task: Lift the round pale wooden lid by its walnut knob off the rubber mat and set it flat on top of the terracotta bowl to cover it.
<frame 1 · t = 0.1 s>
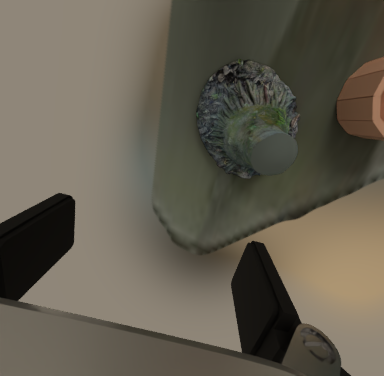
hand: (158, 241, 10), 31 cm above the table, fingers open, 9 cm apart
tree stump: (245, 122, 37), on the table
bowl: (375, 99, 35), on the table
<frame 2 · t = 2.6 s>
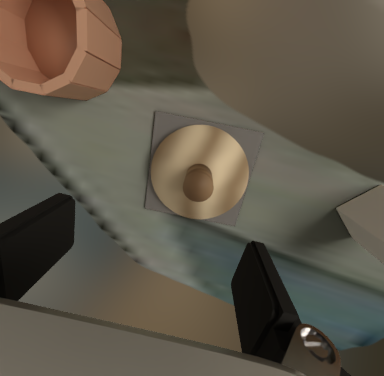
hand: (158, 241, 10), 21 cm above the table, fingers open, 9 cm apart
mat: (199, 173, 31), on the table
milk carton: (363, 211, 32), on the table
bowl: (73, 45, 26), on the table
lid: (199, 174, 30), resting on mat
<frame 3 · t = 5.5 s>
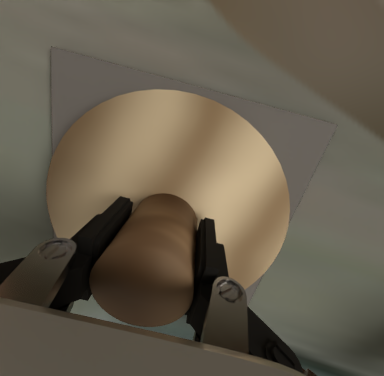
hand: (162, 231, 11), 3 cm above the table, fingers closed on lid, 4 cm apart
mat: (169, 211, 13), on the table
lid: (168, 213, 13), resting on mat, touching gripper
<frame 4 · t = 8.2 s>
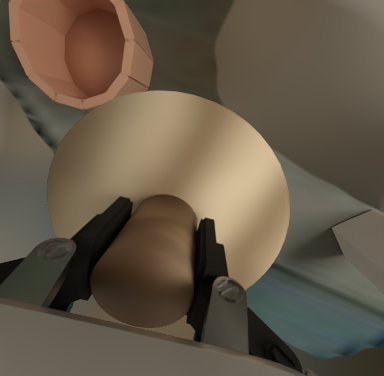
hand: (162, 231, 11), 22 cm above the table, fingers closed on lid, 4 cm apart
milk carton: (355, 232, 35), on the table
bowl: (107, 61, 28), on the table
lid: (168, 214, 13), point 20 cm above the table, touching gripper
when the fingers open (12 cm above the table, at t = 11.0 s): lid drops 2 cm, resting on bowl.
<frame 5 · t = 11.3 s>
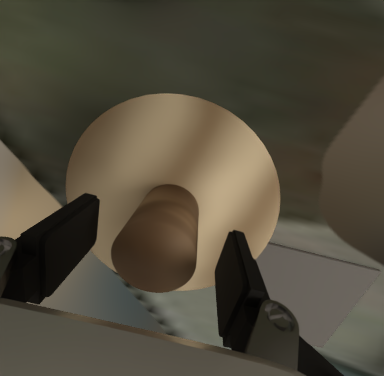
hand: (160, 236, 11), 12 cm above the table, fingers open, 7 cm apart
mat: (294, 298, 28), on the table
lid: (173, 203, 15), point 8 cm above the table, touching bowl
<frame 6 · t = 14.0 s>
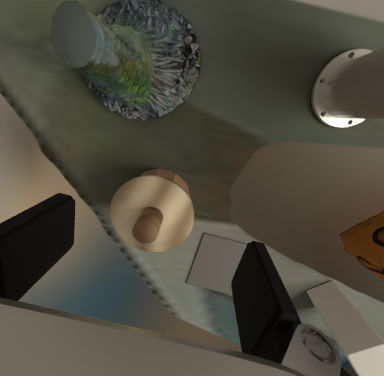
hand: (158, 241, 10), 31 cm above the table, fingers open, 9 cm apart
tree stump: (143, 67, 35), on the table
mat: (224, 266, 49), on the table
milk carton: (322, 293, 51), on the table
coffee package: (365, 231, 45), on the table
bowl: (160, 197, 43), on the table
lid: (153, 213, 35), point 8 cm above the table, touching bowl
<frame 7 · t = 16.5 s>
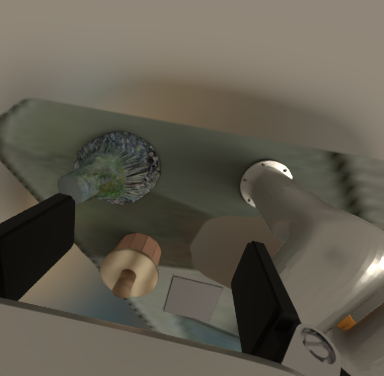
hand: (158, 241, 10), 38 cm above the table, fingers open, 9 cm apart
tree stump: (121, 168, 50), on the table
mat: (192, 299, 64), on the table
bowl: (139, 251, 58), on the table
lid: (130, 271, 50), point 8 cm above the table, touching bowl
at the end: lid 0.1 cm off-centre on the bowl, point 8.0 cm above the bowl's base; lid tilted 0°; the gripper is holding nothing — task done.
